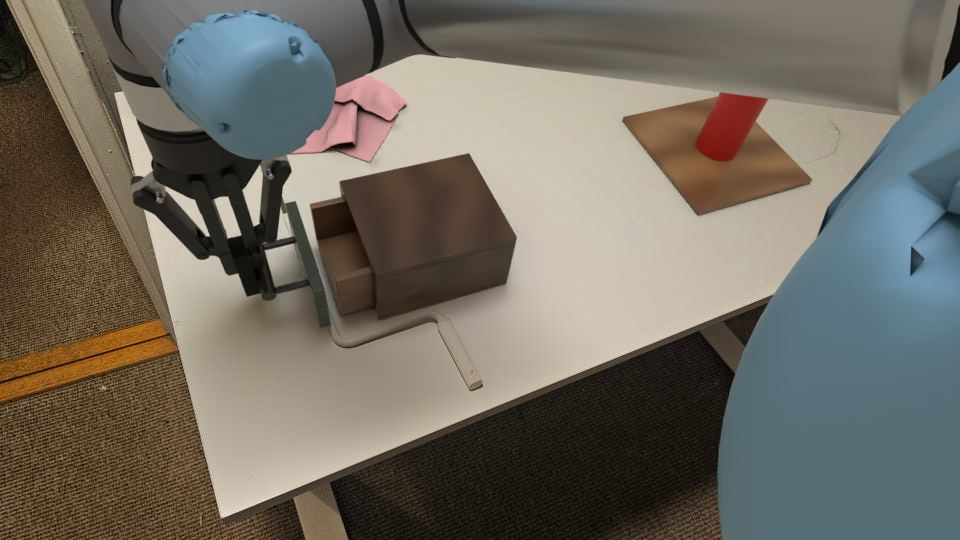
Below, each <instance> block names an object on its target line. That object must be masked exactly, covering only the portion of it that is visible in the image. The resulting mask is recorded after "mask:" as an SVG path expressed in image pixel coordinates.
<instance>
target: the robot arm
mask: <svg viewBox="0 0 960 540" xmlns="http://www.w3.org/2000/svg"><path fill="white" fill-rule="evenodd" d="M82 2H83V4H84V6H85V7H86V8H85V9H86V10H87V13H88V15H89V17H90V19H91V21H92V23H93V26H94V27H95V30H96V33H97V35H98V37H99V39H100V41H101V43H102V45H103V47H104V50H105V53H106V54H107V57H108V59H109V62H110V66H111V68H112V70H113V73H114V75H115V77H116V80H117V81H118V84H119V86H120V88H121V91H122V93H123V95H124V97H125V100H126V102H127V104H128V106H129V108H130V110H131V113H132V115H133V116H134V117H135V119H136V123H137V126H138V128H139V130H140V133H141V135H142V137H143V140H144V141H145V144H146V146H147V148H148V151H149V153H150V156H151V157H152V158H151V162H150V167H151V169H152V170H151V171H150V172H148V173H147V174H146V175H145V176H143V175H136V176H133V177H131V179H130V189H131V196H132V202H133V204H134V206H136V207H138V208H140V209H142V210H144V211H146V212H148V213H150V214H152V215H154V216H155V217H156V218H157V219H158V220H159V221H160V222H161V223H162V224H163V225H164V227H166V229H168V230H169V231H170V233H172V235H173V236H174V237H176V239H177V240H178V241H179V242H180V243H181V244H182V245H183V246H184V247H185V248H186V249H187V250H188V251H189V252H190V253H191V254H192V255H193V256H194V257H195V258H196V259H197V260H200V261H205V260H207V259H209V258H210V257H216V258H218V259H219V261H220V263H221V265H222V268H223V271H224V273H225V274H226V275H227V276H229V277H230V276H235V275H238V277H239V279H240V282H241V285H242V288H243V290H244V293H245V296H246V298H249V297H252V296H256V295H261V293H260V290H259V286H258V281H257V278H256V274H255V270H254V269H256V268H260V267H263V266H264V260H263V256H262V252H261V249H260V246H261V245H262V244H263V243H273V242H275V241H276V240H278V233H279V225H280V216H281V209H282V199H283V191H284V190H283V189H284V186H285V184H286V182H287V181H288V179H289V178H290V176H291V174H292V172H293V169H292V166H291V164H290V160H289V158H288V155H291V154H290V153H292V152H294V151H296V150H298V149H300V148H301V147H303V146H304V145H305V144H306V139H307V138H308V137H309V136H310V135H311V134H312V133H313V132H314V131H315V130H320V129H321V128H322V127H323V126H324V124H325V123H326V121H327V119H328V118H329V115H330V113H331V110H332V108H333V105H334V101H335V95H336V88H337V87H340V86H342V85H344V84H347V83H349V82H351V81H354V80H356V79H358V78H361V77H363V76H367V75H369V74H372V73H374V72H375V71H378V70H381V69H383V68H385V67H388V66H390V65H393V64H395V63H398V62H400V61H402V60H405V59H407V58H409V57H413V56H419V55H422V56H430V57H436V58H446V59H463V60H471V61H479V62H486V63H494V64H501V65H508V66H517V67H522V68H523V67H524V68H531V69H538V70H539V69H540V70H546V71H553V72H561V73H570V74H576V75H583V76H592V77H600V78H607V79H614V80H615V79H616V80H622V81H623V80H624V81H631V82H638V83H645V84H652V85H653V84H654V85H661V86H668V87H676V88H683V89H690V90H691V89H692V90H698V91H707V92H712V93H720V92H721V93H728V94H736V95H744V96H751V97H759V98H766V99H768V100H776V101H782V102H783V101H784V102H789V103H798V104H805V105H813V106H822V107H826V108H827V107H828V108H829V107H830V108H837V109H842V110H843V109H844V110H851V111H858V112H864V113H865V112H867V113H874V114H881V115H887V116H889V115H890V116H896V117H897V116H898V117H899V118H898V119H897V120H896V122H894V124H892V126H891V127H890V129H889V130H888V131H887V133H886V134H885V135H884V137H883V138H882V140H881V141H880V143H879V144H878V145H877V147H876V148H875V150H873V152H872V154H871V155H870V157H868V159H867V160H866V161H865V163H864V164H863V165H862V166H861V168H860V169H859V170H858V171H857V173H856V174H855V175H854V177H853V178H852V179H851V180H850V181H849V183H847V185H846V186H844V188H843V189H842V190H841V191H840V192H839V193H838V194H837V195H836V196H835V197H834V198H833V199H832V201H831V202H830V203H829V204H828V205H827V207H826V210H825V212H824V216H823V219H822V221H821V224H820V227H819V230H818V232H817V235H816V238H815V239H814V240H813V241H812V243H811V244H810V245H809V246H808V247H807V249H805V251H804V252H803V254H802V255H801V256H800V257H799V259H798V260H797V261H796V262H795V264H794V265H792V266H793V267H791V269H790V270H789V272H788V273H787V275H786V276H785V278H784V279H783V280H782V281H781V283H780V284H779V286H778V287H777V289H776V290H775V291H774V293H773V295H772V296H771V298H770V299H769V302H768V303H767V304H766V307H765V308H764V310H763V312H762V314H761V315H760V317H759V319H758V320H757V322H756V324H755V327H754V329H753V331H752V333H751V334H750V337H749V339H748V341H747V343H746V345H745V348H744V350H743V352H742V355H741V357H740V360H739V363H738V366H737V369H736V371H735V374H734V377H733V378H732V379H733V380H732V383H731V386H730V390H729V394H728V398H727V402H726V405H725V410H724V415H723V418H722V425H721V432H720V439H719V444H718V445H719V446H718V459H717V460H718V461H717V503H718V504H717V505H718V515H719V524H720V525H719V526H720V533H721V539H722V540H960V0H82ZM259 167H260V171H261V174H262V178H261V179H262V181H261V191H260V194H261V196H260V204H259V205H260V206H259V219H258V223H257V224H255V225H254V223H253V220H252V217H251V213H250V210H249V207H248V203H247V200H246V197H245V194H244V191H243V190H244V189H245V188H246V187H247V186H248V184H249V183H250V181H251V180H252V178H253V176H254V175H255V173H256V172H257V170H258V168H259ZM166 188H168V189H171V190H172V191H173V192H175V193H178V194H180V195H182V196H184V197H186V198H188V199H190V200H194V201H195V204H196V206H197V209H198V211H199V214H200V215H201V217H202V221H203V222H204V225H205V227H206V230H207V233H208V235H209V236H208V235H206V233H205V232H204V231H203V230H202V229H201V228H200V227H199V225H197V223H196V222H195V221H194V220H193V218H191V217H190V216H189V215H188V213H187V212H186V211H185V210H184V208H182V206H181V205H180V204H179V203H178V202H177V201H176V200H175V198H173V196H172V195H171V194H170V193H169V192H168V190H167V189H166ZM219 198H228V201H229V204H230V206H231V208H232V211H233V214H234V217H235V218H234V219H235V221H236V224H237V226H238V229H239V231H240V235H235V236H231V237H228V233H227V230H226V228H225V226H224V223H223V220H222V218H221V214H220V212H219V209H218V207H217V204H216V201H215V200H216V199H219Z"/></svg>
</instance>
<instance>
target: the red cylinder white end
mask: <svg viewBox="0 0 960 540" xmlns="http://www.w3.org/2000/svg"><path fill="white" fill-rule="evenodd" d="M716 97H717V99H716V101H715V103H714V105H713V107H712V109H711V111H710V113H709V115H708V117H707V119H706V121H705V123H704V125H703V127H702V129H701V131H700V133H699V135H698V137H697V139H696V146H697V148H698V150H699V151H700V152H701V153H702V154H703V155H704V156H706V157H708V158H710V159H712V160H716V161H729V160H731V159H733V158H734V157H735V156H736V154H737V152H738V151H739V149H740V147H741V145H742V144H743V142H744V140H745V139H746V137H747V135H748V133H749V132H750V130H751V128H752V127H753V125H754V123H755V121H756V122H757V120H758V118H759V116H760V115H761V113H762V111H763V109H764V108H765V106H766V104H767V103H768V101H769V99H766V98H759V97H751V96H744V95H736V94H728V93H721V92H718V95H717V96H716Z"/></svg>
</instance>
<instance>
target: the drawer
mask: <svg viewBox="0 0 960 540" xmlns="http://www.w3.org/2000/svg"><path fill="white" fill-rule="evenodd" d="M284 207H285V211H286V216H287V220H288V224H289V228H290V232H291V236H289V237H284V238H279V239H277V240H276V241H275V242H273V243H266V242H265V243H263V244H262V245H261V246H260V249H261V252H262V256H263V260H264V266H263V267H260V268H256V269H254V270H255V274H256V278H257V281H258V286H259V290H260V298H261V300H262V301H265V302H270V301H273V300H275V299H276V298H277V296H278V295H280V294H283V293H288V292H292V291H295V290H299V289H303V288H307V290H308V293H309V296H310V300H311V303H312V306H313V309H314V313H315V316H316V320H317V323H318V326H319V328H320V329H323V328H327V327H330V326H331V325H332V321H331V316H330V311H329V306H328V300H327V295H326V294H327V293H326V289H325V285H324V283H323V280H322V277H321V273H320V271H319V268H318V265H317V262H316V259H315V255H314V253H313V249H312V247H311V244H310V240H309V237H308V233H307V231H306V228H305V224H304V221H303V220H302V219H303V218H302V215H301V213H300V210H299V207H298V203H297V201H296V200H293V201H288V202H285V203H284ZM309 207H310V209H309V210H310V214H311V219H312V224H313V225H312V226H313V230H314V235H315V239H316V243H317V247H318V250H319V252H320V257H321V258H322V261H323V265H324V267H325V270H326V273H327V276H328V279H329V280H328V281H329V282H330V285H331V288H332V291H333V294H334V298H335V300H336V303H337V306H338V309H339V312H340V315H341V316H342V315H346V314H350V313H354V312H357V311H360V310H364V309H367V308H372V307H373V306H375V305H376V298H375V284H374V273H373V271H372V268H371V265H370V263H369V260H368V258H367V255H366V253H365V250H364V247H363V245H362V242H361V240H360V237H359V234H358V232H357V229H356V227H355V224H354V221H353V219H352V216H351V214H350V211H349V209H348V206H347V203H346V201H345V198H344V196H343V197H341V196H338V197H333V198H330V199H325V200H321V201H317V202H316V201H315V202H311V203H309ZM290 245H294V248H295V252H296V254H297V258H298V261H299V265H300V267H301V271H302V275H303V278H304V279H301V280H297V281H293V282H290V283H285V284H281V285H277V286H276V285H275V283H274V278H273V275H272V272H271V271H272V270H271V267H270V264H269V260H268V257H267V252H266V251H269V250H273V249H278V248H282V247H286V246H290Z"/></svg>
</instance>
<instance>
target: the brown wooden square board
mask: <svg viewBox="0 0 960 540" xmlns="http://www.w3.org/2000/svg"><path fill="white" fill-rule="evenodd" d="M717 97H718V96H713V97H710V98H709V97H708V98H704V99H700V100H694V101H691V102H685V103H681V104H676V105H672V106H667V107H661V108H658V109H652V110H647V111H643V112H640V113H635V114H629V115H625V116H623V117H622V122H623V124H624V125H625V126H626V127H627V129H628V130H629V132H631V134H632V135H633V136H634V137H635V139H636V140H637V141H638V142H639V144H640V145H641V146H642V147H643V148H644V150H645V151H646V153H647V154H648V155H649V156H650V157H651V159H652V160H653V161H654V163H655V164H656V165H657V167H659V169H660V170H661V171H662V173H663V174H664V175H665V176H666V178H667V179H668V180H669V181H670V182H671V184H672V185H673V186H674V187H675V189H676V190H677V192H678V193H679V194H680V195H681V197H682V198H683V199H684V200H685V201H686V202H687V204H688V205H689V206H690V207H691V209H692V210H693V211H694V212H695V214H696V215H697V216H701V215H704V214H708V213H712V212H715V211H718V210H723V209H725V208H729V207H733V206H735V205H740V204H742V203H746V202H749V201H753V200H757V199H760V198H763V197H767V196H771V195H775V194H777V193H781V192H784V191H789V190H792V189H794V188H799V187H802V186H806V185H809V184H811V183H812V182H813V178H812V177H811V176H810V175H809V174H808V173H807V172H806V171H805V170H804V169H803V167H801V166H800V165H799V164H798V163H797V162H796V161H795V159H793V157H791V155H789V154H788V153H787V152H786V151H785V149H783V148H782V146H781V145H780V144H779V143H778V142H777V141H776V140H775V139H774V138H772V136H771V135H770V134H768V132H767V131H766V130H765V129H764V128H763V127H762V126H761V125H760V124H759V123H758V121H757V120H756V121H755V123H754V125H753V127H752V128H751V130H750V132H749V133H748V135H747V137H746V139H745V140H744V142H743V144H742V145H741V147H740V149H739V151H738V152H737V154H736V156H735V157H734V158H733V159H731V160H729V161H716V160H712V159H710V158H708V157H706V156H704V155H703V154H702V153H701V152H700V151H699V150H698V148H697V146H696V139H697V137H698V135H699V133H700V131H701V129H702V127H703V125H704V123H705V121H706V119H707V117H708V115H709V113H710V111H711V109H712V107H713V105H714V103H715V101H716V99H717Z"/></svg>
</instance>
